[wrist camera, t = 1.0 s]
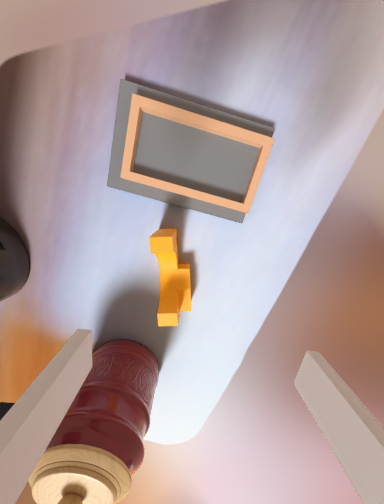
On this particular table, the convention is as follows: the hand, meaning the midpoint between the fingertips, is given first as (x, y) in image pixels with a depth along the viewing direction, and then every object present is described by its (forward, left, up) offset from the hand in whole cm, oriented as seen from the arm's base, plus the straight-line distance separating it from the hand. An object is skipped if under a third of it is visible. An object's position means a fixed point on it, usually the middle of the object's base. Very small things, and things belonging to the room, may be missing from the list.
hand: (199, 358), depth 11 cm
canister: (-7, -23, -18) cm, 30 cm away
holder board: (-5, +14, -17) cm, 23 cm away
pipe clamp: (-3, -1, -18) cm, 18 cm away
